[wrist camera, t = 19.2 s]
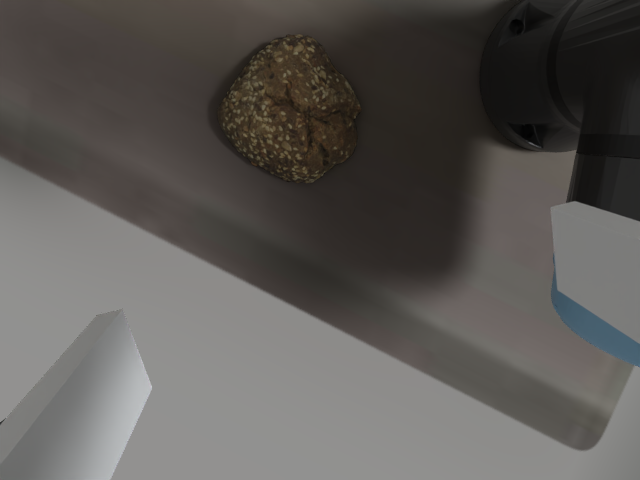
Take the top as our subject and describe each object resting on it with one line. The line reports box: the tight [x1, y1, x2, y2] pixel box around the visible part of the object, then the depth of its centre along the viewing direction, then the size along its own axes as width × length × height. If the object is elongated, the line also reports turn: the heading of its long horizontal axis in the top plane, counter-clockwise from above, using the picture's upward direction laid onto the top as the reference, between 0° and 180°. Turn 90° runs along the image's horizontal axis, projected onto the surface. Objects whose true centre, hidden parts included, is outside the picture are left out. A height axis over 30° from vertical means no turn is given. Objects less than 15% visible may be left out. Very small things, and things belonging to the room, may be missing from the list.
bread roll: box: [217, 34, 362, 183], centre depth 43 cm, size 13×12×5 cm
